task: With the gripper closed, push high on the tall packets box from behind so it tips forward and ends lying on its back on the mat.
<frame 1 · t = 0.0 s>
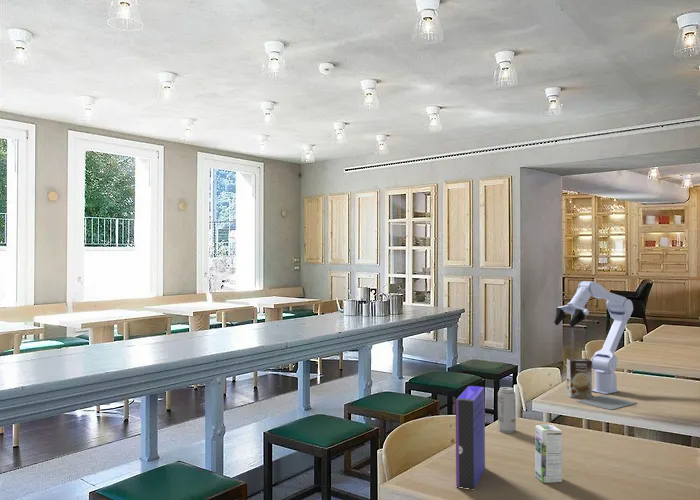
hand: (563, 324, 250), 32 cm above the table, tool tilted 50°, fingers open, 7 cm apart
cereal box: (471, 478, 167), on the table
energy drink can: (506, 431, 209), on the table
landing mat: (606, 402, 246), on the table
syrup box: (548, 479, 165), on the table
coffee box: (579, 396, 257), on the table
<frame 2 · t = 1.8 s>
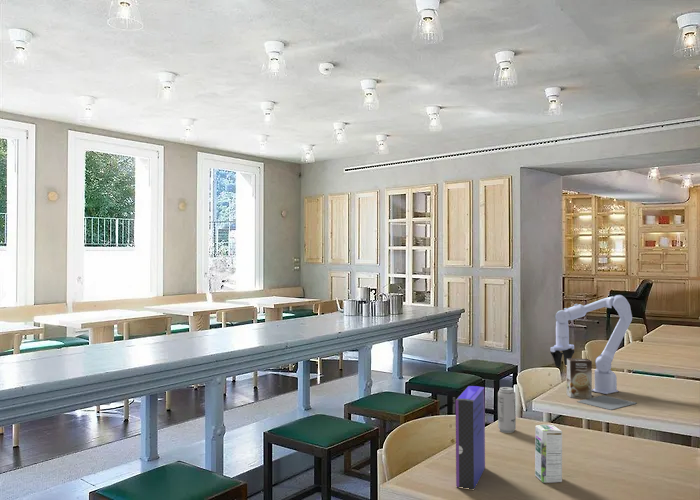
hand: (562, 366, 271), 10 cm above the table, tool pointing down, fingers open, 6 cm apart
nothing on the table moved.
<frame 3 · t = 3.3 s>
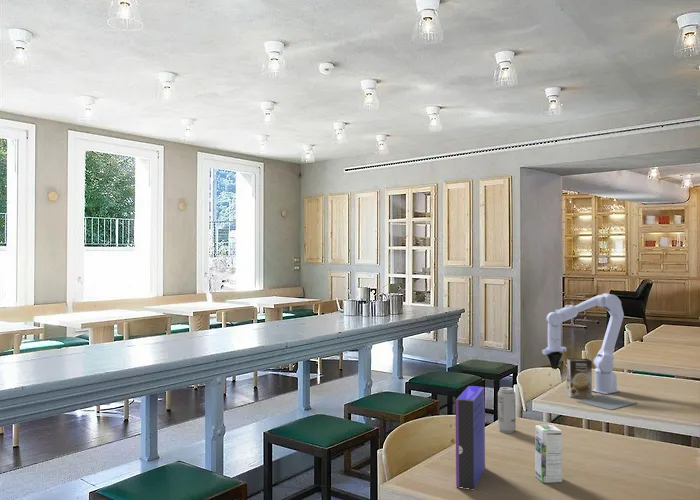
hand: (554, 368, 268), 10 cm above the table, tool pointing down, fingers closed
nothing on the table moved.
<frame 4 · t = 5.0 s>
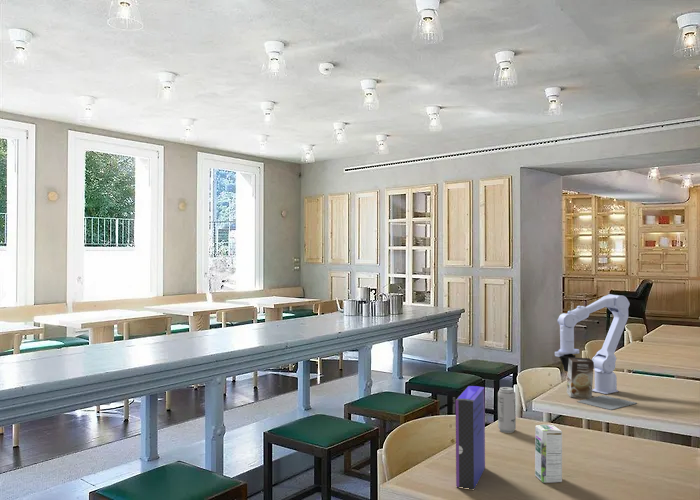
hand: (567, 371, 262), 10 cm above the table, tool pointing down, fingers closed
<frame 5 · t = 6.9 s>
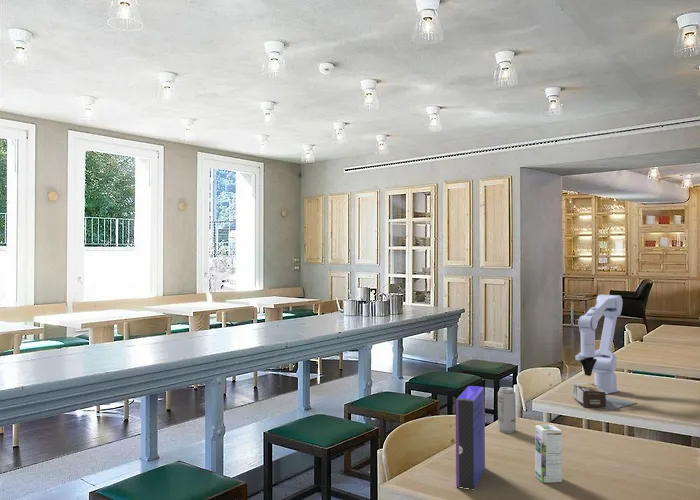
hand: (588, 375, 253), 10 cm above the table, tool pointing down, fingers closed
coffee box: (582, 389, 254), point 3 cm above the table, touching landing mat
everything else where it was.
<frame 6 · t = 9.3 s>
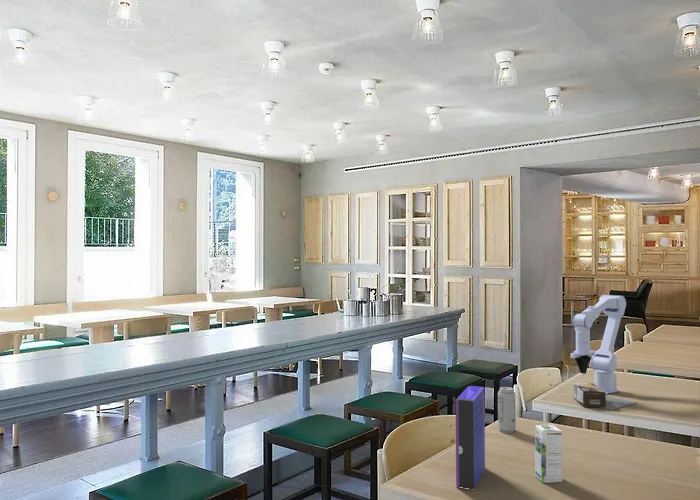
hand: (583, 373, 255), 10 cm above the table, tool pointing down, fingers closed
nothing on the table moved.
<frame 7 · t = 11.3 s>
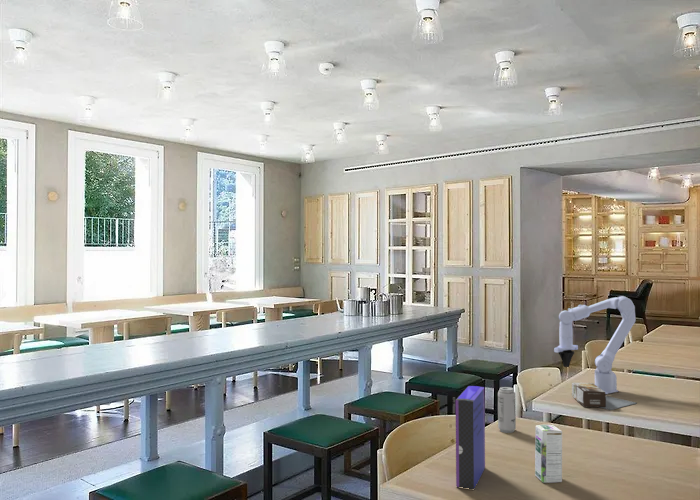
hand: (566, 366, 269), 10 cm above the table, tool pointing down, fingers closed
nothing on the table moved.
at the end: coffee box tilted 90°; coffee box touching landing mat; the gripper is holding nothing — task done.
